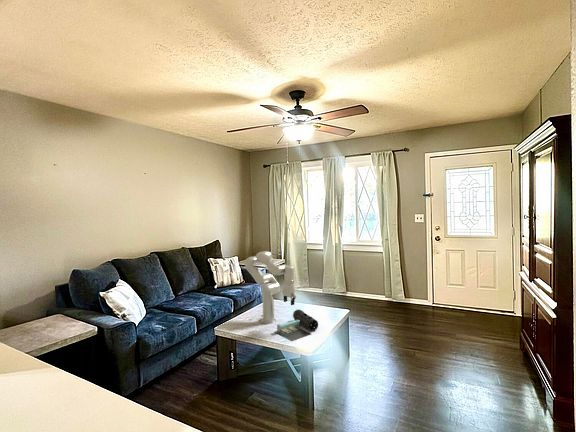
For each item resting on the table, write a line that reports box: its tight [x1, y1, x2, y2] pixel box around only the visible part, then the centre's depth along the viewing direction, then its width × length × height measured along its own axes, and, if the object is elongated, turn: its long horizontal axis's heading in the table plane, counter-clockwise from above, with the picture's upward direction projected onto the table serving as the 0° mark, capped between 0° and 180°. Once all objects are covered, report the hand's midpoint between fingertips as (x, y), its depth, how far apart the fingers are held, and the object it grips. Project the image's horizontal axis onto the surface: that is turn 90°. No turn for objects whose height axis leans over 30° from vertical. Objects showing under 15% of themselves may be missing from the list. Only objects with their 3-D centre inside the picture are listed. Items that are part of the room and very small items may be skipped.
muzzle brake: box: [292, 309, 319, 332], centre depth 253 cm, size 10×28×10 cm, turn 25°
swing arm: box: [276, 319, 301, 333], centre depth 244 cm, size 22×4×5 cm, turn 129°
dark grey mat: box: [273, 325, 312, 342], centre depth 237 cm, size 22×20×1 cm
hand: (288, 303), depth 249 cm, fingers open, 9 cm apart
